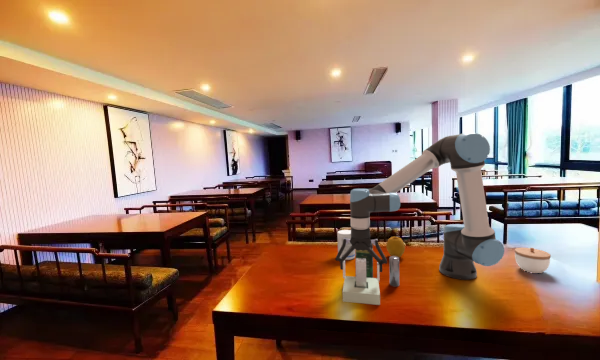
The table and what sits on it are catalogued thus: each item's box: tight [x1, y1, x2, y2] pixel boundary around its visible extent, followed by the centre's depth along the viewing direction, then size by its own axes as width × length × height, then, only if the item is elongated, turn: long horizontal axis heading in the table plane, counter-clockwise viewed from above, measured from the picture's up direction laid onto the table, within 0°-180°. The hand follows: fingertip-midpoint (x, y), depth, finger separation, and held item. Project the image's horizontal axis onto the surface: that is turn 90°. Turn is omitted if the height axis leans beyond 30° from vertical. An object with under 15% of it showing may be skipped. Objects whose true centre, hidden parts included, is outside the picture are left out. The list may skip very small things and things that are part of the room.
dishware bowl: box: [514, 247, 551, 274], centre depth 123 cm, size 13×13×11 cm
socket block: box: [342, 275, 381, 306], centre depth 107 cm, size 14×14×4 cm
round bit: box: [388, 255, 400, 287], centre depth 114 cm, size 4×4×12 cm
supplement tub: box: [336, 229, 356, 261], centre depth 147 cm, size 10×10×15 cm
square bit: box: [355, 258, 366, 288], centre depth 107 cm, size 4×4×14 cm
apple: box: [386, 236, 406, 259], centre depth 145 cm, size 10×10×12 cm
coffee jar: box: [354, 243, 374, 278], centre depth 120 cm, size 10×8×19 cm
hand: (361, 278), depth 107 cm, fingers open, 13 cm apart
